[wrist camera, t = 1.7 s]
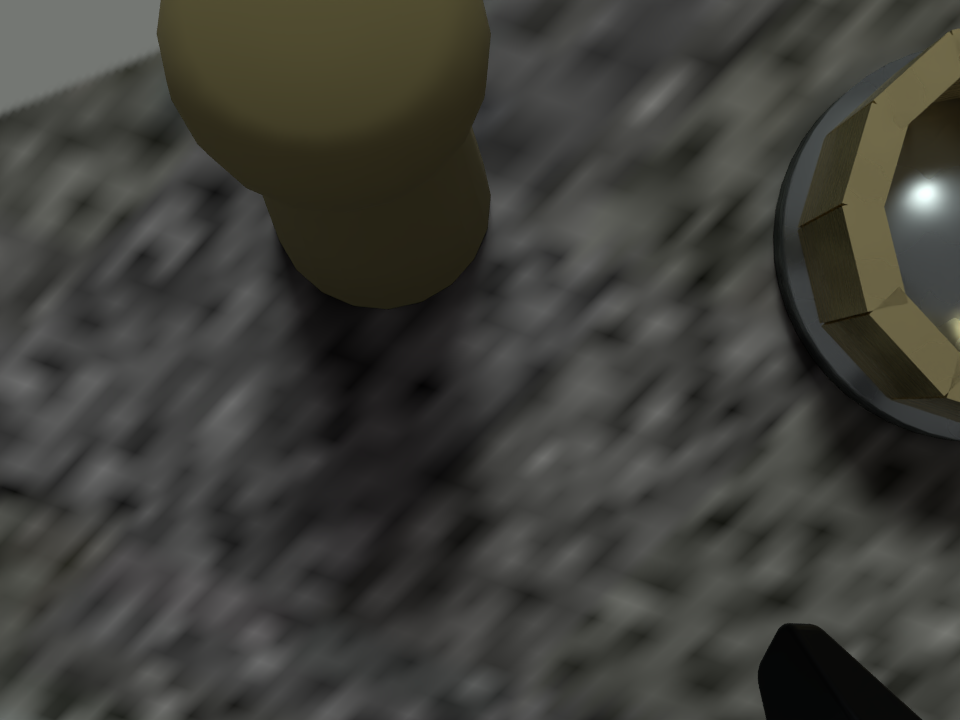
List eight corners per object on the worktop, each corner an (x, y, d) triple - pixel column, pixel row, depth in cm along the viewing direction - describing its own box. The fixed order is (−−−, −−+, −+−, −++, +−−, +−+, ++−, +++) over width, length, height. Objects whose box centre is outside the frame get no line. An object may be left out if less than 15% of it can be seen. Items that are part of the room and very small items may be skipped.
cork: (415, 350, 22) (375, 288, 11) (229, 234, 22) (4, 54, 11) (531, 169, 22) (605, -67, 11) (349, 54, 22) (247, -290, 11)
